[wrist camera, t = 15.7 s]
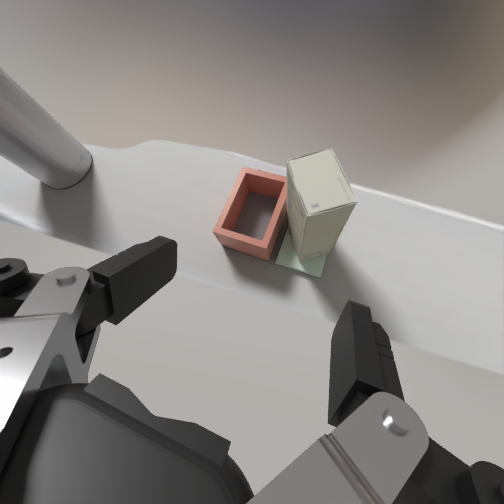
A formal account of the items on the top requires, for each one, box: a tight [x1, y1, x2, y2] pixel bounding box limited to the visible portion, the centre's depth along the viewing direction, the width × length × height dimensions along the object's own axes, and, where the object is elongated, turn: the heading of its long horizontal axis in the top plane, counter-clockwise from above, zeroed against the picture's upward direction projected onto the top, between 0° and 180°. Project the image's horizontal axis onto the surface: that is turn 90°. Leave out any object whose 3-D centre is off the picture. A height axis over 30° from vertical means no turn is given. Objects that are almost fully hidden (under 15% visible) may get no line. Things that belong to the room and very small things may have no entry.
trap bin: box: [213, 167, 287, 261], centre depth 31 cm, size 7×10×5 cm
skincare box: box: [287, 148, 357, 261], centre depth 25 cm, size 6×4×12 cm
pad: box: [276, 229, 328, 278], centre depth 31 cm, size 6×10×1 cm, turn 159°
